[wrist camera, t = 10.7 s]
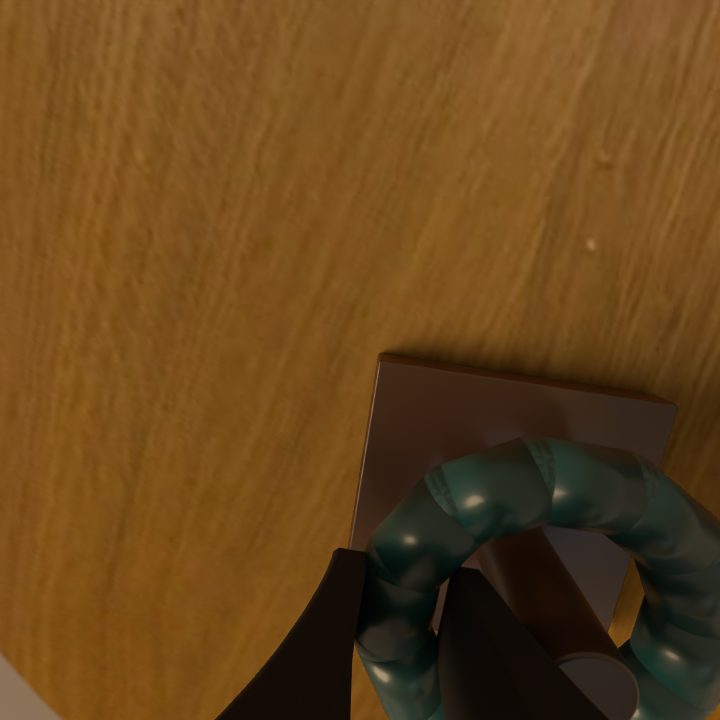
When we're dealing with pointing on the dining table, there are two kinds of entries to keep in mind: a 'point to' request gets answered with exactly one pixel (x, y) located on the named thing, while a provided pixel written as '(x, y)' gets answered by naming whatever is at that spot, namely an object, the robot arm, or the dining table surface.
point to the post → (532, 547)
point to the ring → (528, 511)
